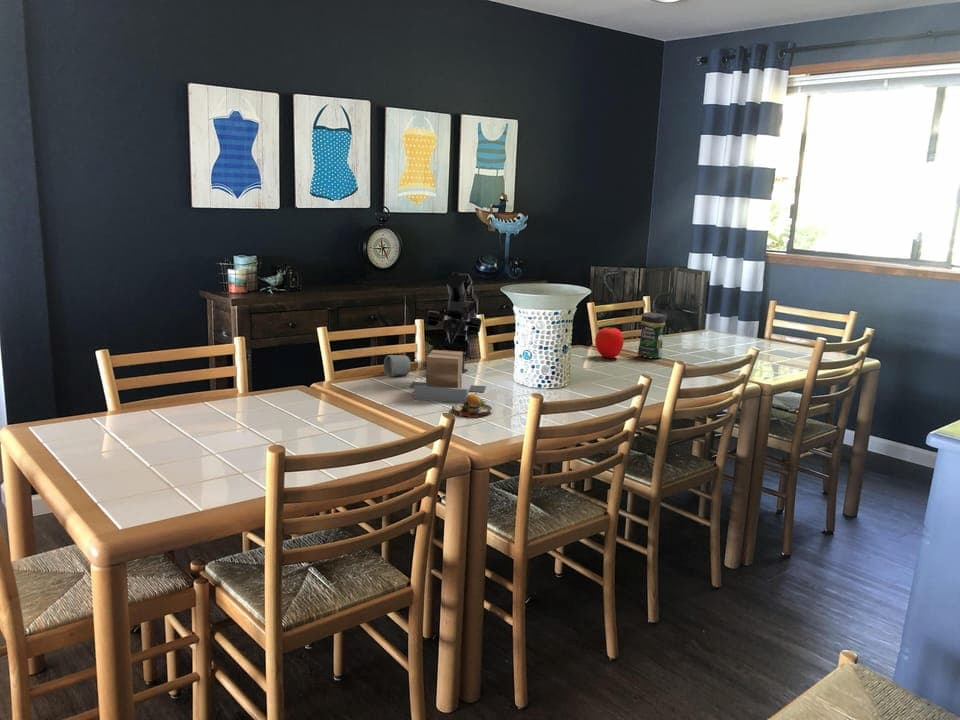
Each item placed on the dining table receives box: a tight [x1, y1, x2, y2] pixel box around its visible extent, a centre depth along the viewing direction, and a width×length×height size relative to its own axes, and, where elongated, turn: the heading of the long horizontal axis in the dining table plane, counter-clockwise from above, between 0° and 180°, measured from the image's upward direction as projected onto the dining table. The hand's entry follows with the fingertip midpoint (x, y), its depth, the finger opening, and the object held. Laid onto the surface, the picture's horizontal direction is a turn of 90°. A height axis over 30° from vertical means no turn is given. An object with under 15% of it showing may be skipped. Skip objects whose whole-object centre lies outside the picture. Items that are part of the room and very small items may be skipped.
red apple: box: [594, 326, 624, 359], centre depth 317 cm, size 11×11×13 cm
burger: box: [451, 392, 493, 419], centre depth 230 cm, size 12×12×8 cm
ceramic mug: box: [383, 354, 412, 378], centre depth 274 cm, size 10×8×7 cm
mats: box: [408, 381, 487, 393], centre depth 259 cm, size 8×25×1 cm, turn 85°
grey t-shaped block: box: [413, 385, 470, 403], centre depth 246 cm, size 8×16×4 cm, turn 85°
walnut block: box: [425, 349, 463, 388], centre depth 250 cm, size 12×10×13 cm
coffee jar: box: [637, 311, 666, 359], centre depth 322 cm, size 10×8×19 cm
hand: (450, 342), depth 265 cm, fingers closed
